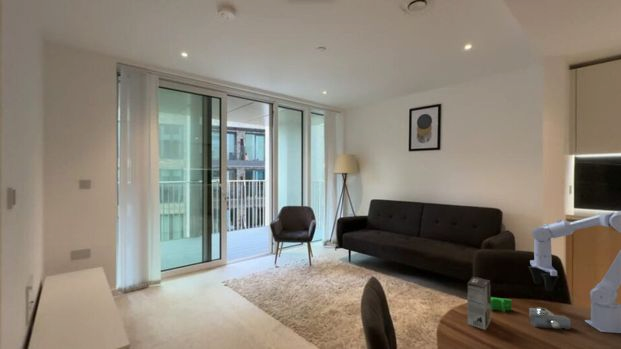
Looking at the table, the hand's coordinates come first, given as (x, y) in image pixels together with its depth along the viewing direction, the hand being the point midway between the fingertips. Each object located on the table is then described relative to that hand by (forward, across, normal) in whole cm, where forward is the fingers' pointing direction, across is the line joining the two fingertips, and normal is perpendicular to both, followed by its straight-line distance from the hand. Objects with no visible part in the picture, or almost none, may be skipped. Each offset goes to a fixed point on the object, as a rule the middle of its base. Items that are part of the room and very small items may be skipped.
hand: (543, 287), depth 123 cm
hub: (+10, +10, -6) cm, 15 cm away
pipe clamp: (+10, +2, -19) cm, 22 cm away
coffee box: (+10, +15, -31) cm, 36 cm away
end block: (+9, +14, -6) cm, 18 cm away
